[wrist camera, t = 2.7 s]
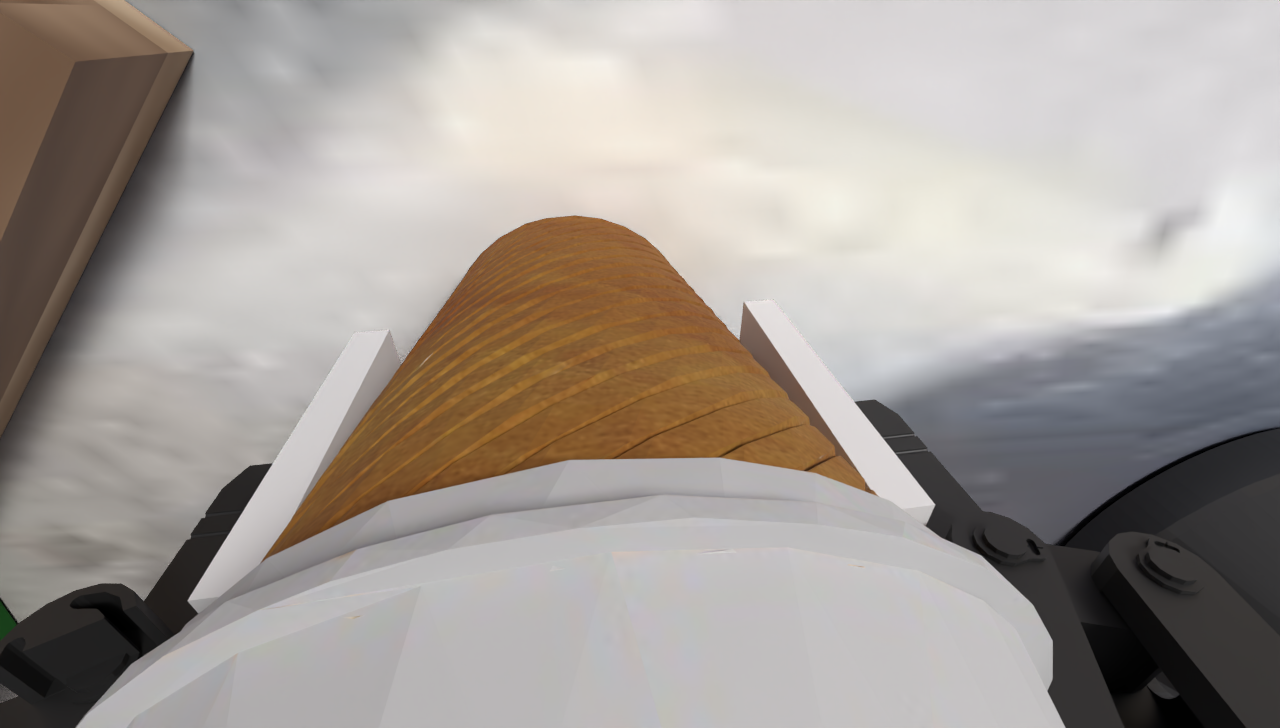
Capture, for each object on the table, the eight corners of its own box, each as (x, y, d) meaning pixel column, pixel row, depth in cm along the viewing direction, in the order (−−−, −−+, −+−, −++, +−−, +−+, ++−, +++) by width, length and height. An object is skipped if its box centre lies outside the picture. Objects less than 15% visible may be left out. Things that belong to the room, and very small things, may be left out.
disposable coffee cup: (461, 479, 17) (336, 1125, 7) (319, 185, 12) (-1045, 1172, 2) (745, 421, 17) (1003, 958, 7) (736, 110, 12) (1627, 564, 2)
